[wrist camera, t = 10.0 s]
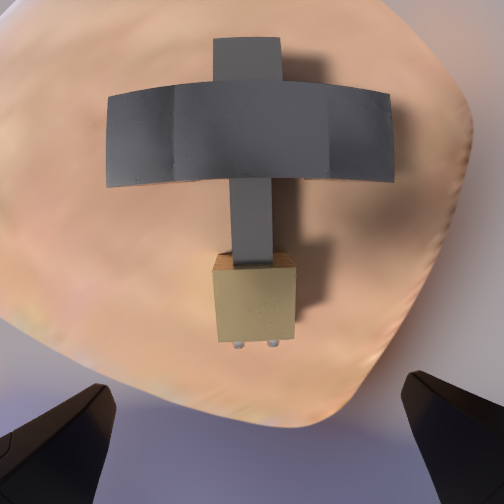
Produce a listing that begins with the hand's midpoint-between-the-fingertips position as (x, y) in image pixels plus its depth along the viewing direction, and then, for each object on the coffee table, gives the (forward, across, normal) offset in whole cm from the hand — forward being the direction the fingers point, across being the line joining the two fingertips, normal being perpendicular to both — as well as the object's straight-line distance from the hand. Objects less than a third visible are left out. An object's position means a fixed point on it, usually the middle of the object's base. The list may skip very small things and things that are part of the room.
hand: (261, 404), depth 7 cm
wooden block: (+10, 0, 0) cm, 10 cm away
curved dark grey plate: (+10, 0, -8) cm, 13 cm away
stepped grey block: (+10, 0, -7) cm, 12 cm away
